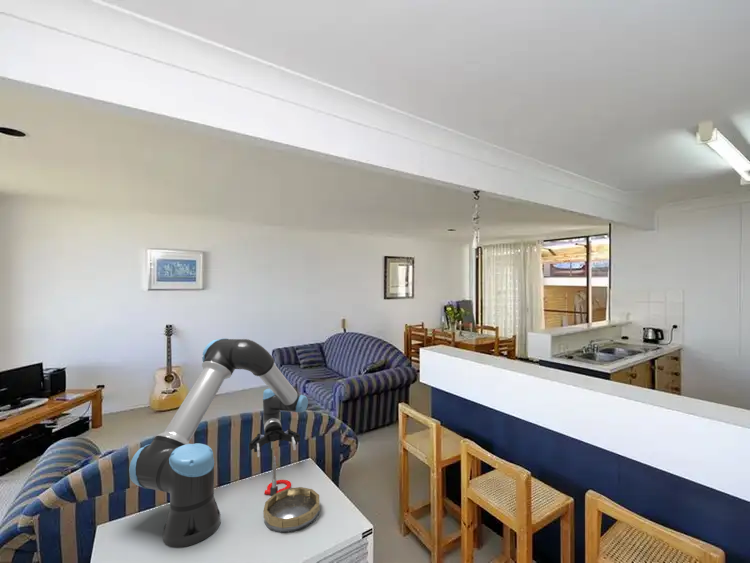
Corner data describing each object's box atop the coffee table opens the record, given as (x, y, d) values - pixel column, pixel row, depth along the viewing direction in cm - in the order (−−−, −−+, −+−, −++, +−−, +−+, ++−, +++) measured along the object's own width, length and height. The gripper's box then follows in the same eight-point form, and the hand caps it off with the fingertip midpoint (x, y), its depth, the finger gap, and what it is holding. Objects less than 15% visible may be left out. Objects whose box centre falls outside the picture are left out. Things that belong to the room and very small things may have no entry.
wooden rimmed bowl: (252, 526, 102) (252, 514, 102) (285, 494, 118) (285, 484, 118) (301, 537, 97) (301, 525, 97) (328, 503, 113) (328, 492, 113)
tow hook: (273, 482, 127) (261, 495, 118) (273, 446, 128) (262, 456, 119) (294, 483, 126) (284, 497, 117) (295, 447, 127) (284, 458, 118)
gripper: (301, 433, 156) (309, 453, 136) (243, 443, 148) (242, 466, 128) (301, 417, 157) (308, 434, 137) (243, 426, 148) (242, 446, 128)
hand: (276, 450), depth 132 cm, fingers open, 13 cm apart
